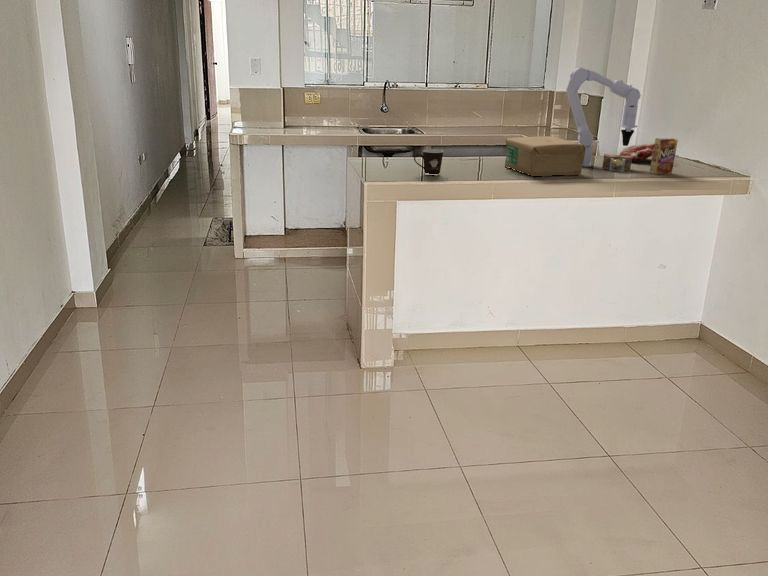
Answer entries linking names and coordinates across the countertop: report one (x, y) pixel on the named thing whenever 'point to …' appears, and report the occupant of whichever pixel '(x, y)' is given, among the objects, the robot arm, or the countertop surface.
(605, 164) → the bearing block
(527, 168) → the paper package
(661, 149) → the candy box
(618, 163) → the shaft
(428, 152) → the coffee mug
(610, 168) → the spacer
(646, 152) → the meat
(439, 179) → the countertop surface
